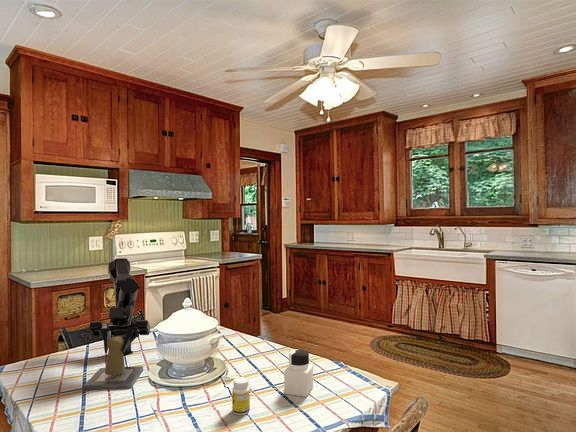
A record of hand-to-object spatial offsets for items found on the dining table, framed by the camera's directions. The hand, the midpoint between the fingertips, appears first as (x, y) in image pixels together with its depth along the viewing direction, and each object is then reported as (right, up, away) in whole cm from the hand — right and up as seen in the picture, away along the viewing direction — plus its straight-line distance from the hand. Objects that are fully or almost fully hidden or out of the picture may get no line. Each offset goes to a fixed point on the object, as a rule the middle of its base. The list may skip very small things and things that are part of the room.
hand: (114, 352), depth 121 cm
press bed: (0, -9, +1) cm, 9 cm away
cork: (0, -7, +1) cm, 7 cm away
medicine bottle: (+59, -10, -7) cm, 60 cm away
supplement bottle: (+43, -9, -19) cm, 48 cm away
